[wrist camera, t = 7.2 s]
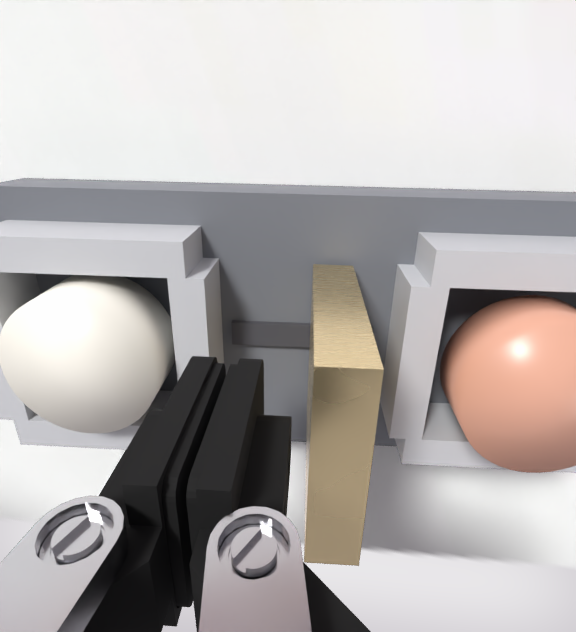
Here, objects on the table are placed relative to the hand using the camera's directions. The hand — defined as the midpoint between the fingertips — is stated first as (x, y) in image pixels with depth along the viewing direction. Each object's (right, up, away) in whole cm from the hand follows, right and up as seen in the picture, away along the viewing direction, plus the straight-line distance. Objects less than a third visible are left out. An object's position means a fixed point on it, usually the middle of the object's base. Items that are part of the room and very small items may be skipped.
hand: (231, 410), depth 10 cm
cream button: (-4, +2, +3) cm, 6 cm away
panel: (+2, +3, +6) cm, 7 cm away
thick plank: (+3, +1, +4) cm, 5 cm away
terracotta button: (+8, +1, +2) cm, 8 cm away
